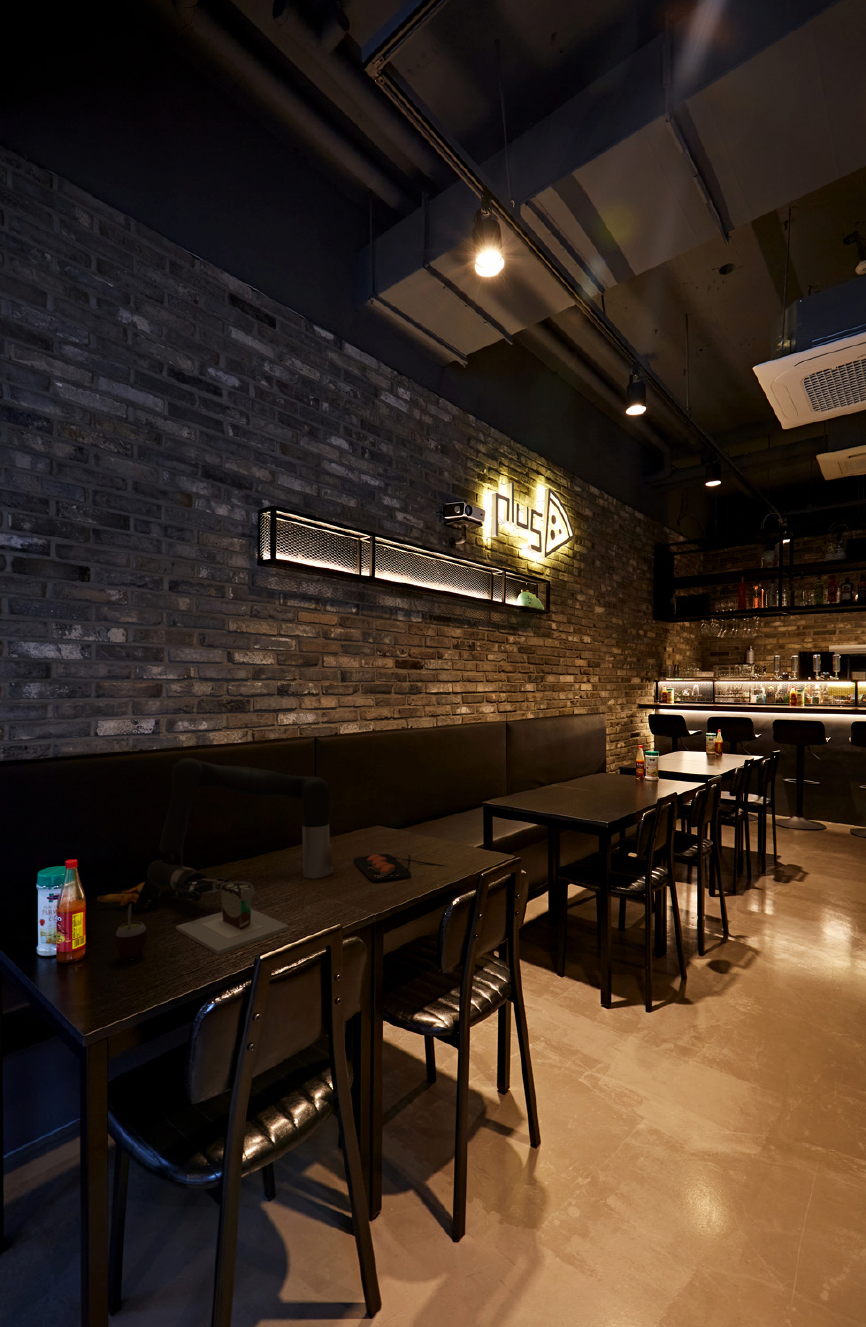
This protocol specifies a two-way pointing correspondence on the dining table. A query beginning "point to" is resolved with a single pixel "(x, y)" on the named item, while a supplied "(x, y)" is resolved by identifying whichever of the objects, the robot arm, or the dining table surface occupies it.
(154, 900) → the fried shrimp in bowl
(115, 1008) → the dining table surface
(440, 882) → the dining table surface
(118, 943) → the mate gourd
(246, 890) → the food container
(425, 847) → the dining table surface
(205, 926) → the dock
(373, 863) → the sushi plate
